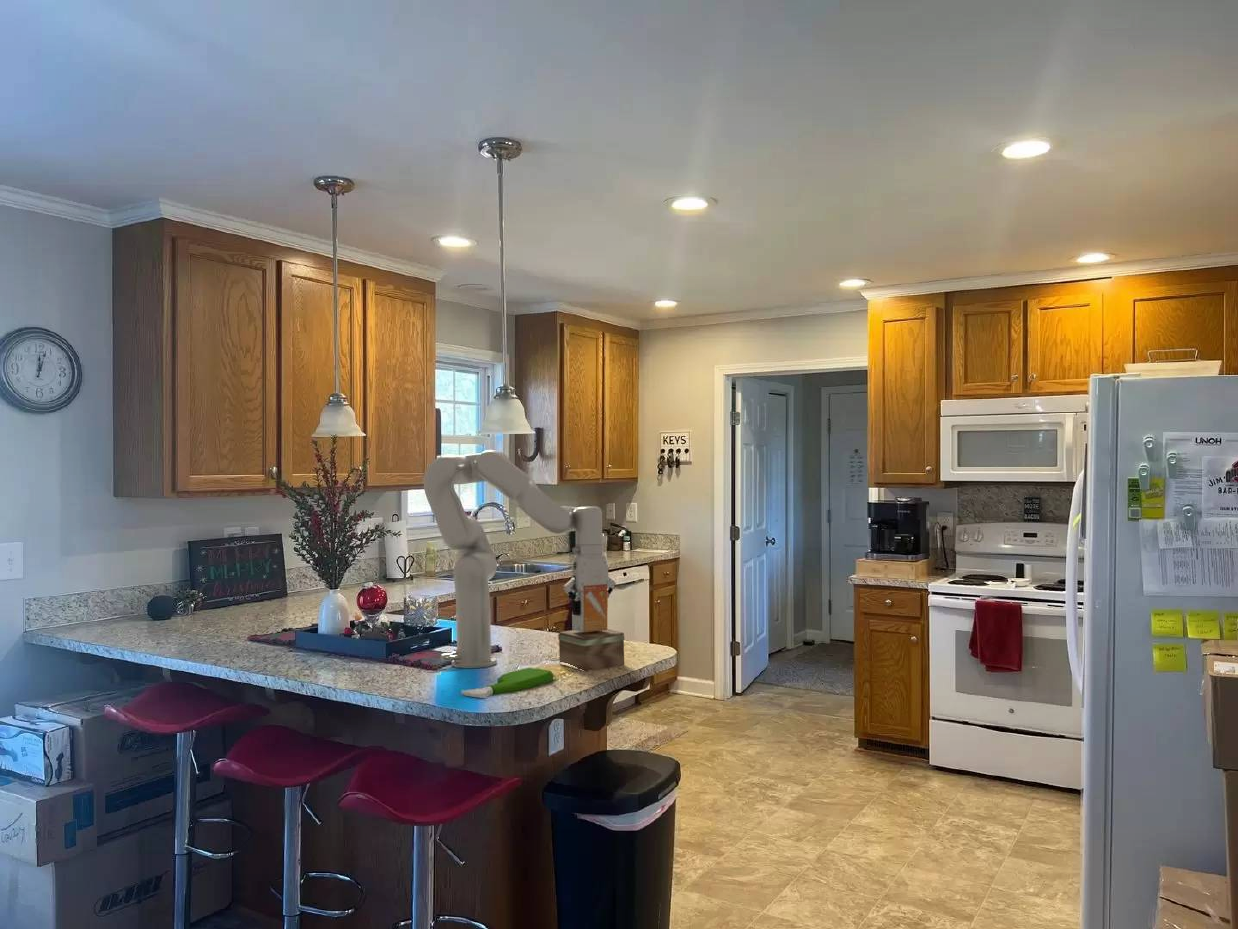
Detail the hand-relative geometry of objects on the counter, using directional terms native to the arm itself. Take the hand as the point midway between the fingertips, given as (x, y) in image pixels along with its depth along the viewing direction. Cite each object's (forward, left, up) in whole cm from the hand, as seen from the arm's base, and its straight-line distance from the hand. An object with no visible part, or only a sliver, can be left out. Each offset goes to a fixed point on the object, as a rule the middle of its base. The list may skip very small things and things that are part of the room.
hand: (590, 613), depth 252 cm
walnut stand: (0, 0, -14) cm, 14 cm away
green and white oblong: (-31, -10, -15) cm, 36 cm away
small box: (0, 0, -5) cm, 5 cm away
